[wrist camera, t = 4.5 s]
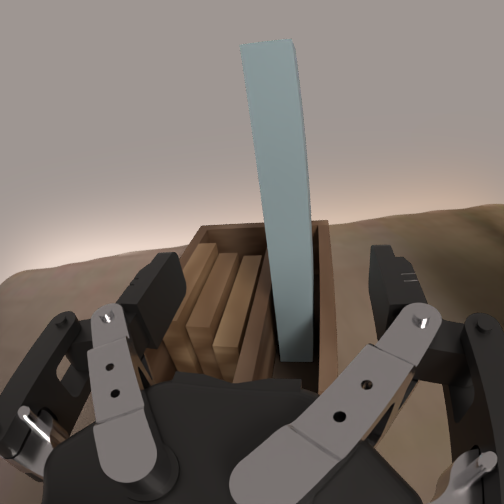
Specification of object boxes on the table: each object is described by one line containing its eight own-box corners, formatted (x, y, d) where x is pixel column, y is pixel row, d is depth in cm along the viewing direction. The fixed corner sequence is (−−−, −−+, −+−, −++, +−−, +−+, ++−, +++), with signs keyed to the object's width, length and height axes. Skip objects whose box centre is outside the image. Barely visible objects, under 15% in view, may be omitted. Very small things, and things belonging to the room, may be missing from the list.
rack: (146, 417, 24) (112, 370, 20) (211, 271, 43) (201, 225, 40) (330, 437, 21) (338, 390, 17) (328, 269, 40) (328, 220, 36)
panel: (280, 361, 28) (239, 44, 15) (286, 318, 33) (255, 52, 20) (312, 361, 28) (291, 38, 15) (314, 318, 33) (295, 48, 20)
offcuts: (180, 383, 27) (151, 323, 23) (214, 298, 38) (200, 241, 34) (248, 390, 26) (232, 328, 22) (267, 298, 37) (259, 239, 33)
